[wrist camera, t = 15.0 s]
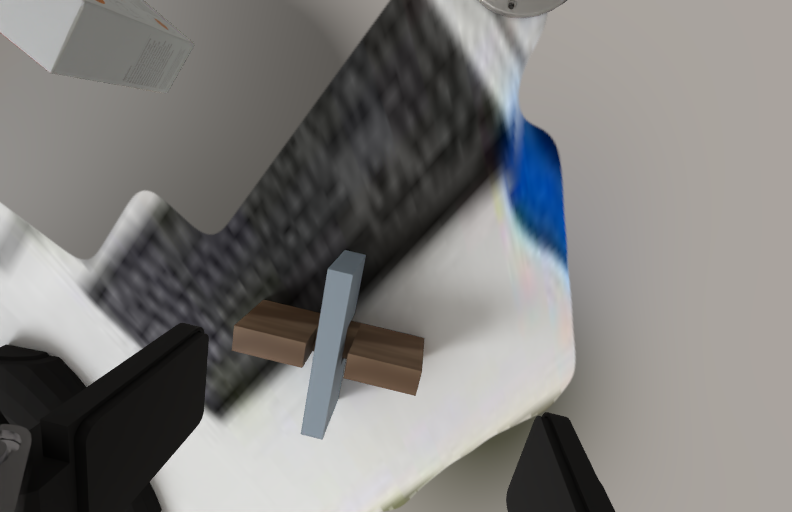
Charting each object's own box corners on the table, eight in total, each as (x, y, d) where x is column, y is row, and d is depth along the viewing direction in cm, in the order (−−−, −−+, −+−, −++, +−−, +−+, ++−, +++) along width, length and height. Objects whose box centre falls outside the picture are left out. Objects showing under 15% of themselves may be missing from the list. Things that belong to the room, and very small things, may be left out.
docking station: (80, 572, 65) (52, 605, 60) (-72, 374, 56) (-119, 396, 51) (199, 546, 60) (179, 580, 56) (54, 325, 51) (14, 343, 47)
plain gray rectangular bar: (344, 249, 43) (327, 269, 37) (366, 254, 43) (352, 274, 37) (319, 394, 49) (300, 434, 43) (338, 399, 49) (322, 439, 43)
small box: (104, 43, 40) (-47, -3, 28) (131, -12, 38) (-17, -88, 26) (168, 96, 41) (49, 75, 28) (197, 45, 39) (84, -2, 27)
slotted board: (263, 299, 46) (234, 325, 40) (424, 338, 45) (421, 371, 39) (261, 321, 47) (231, 350, 41) (418, 359, 46) (415, 395, 40)
